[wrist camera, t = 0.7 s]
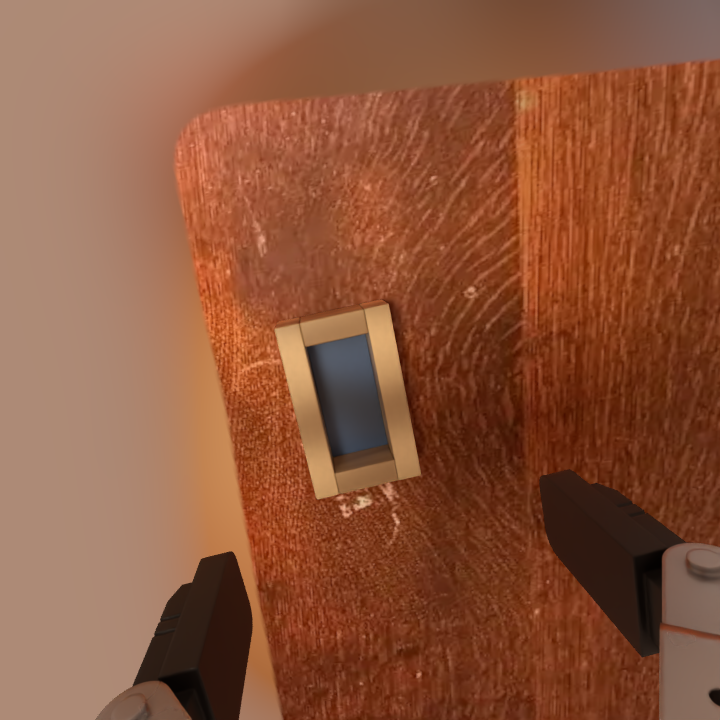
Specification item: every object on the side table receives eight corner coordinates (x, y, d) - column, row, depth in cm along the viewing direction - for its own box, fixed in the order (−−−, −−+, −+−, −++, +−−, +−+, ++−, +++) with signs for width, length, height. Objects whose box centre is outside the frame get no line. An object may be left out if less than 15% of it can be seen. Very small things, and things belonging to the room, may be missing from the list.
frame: (277, 321, 25) (273, 328, 22) (381, 299, 25) (388, 303, 23) (315, 479, 27) (316, 500, 24) (411, 456, 27) (421, 475, 25)
